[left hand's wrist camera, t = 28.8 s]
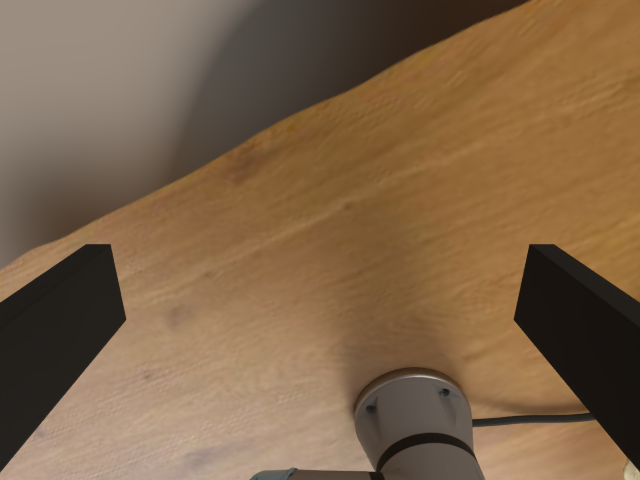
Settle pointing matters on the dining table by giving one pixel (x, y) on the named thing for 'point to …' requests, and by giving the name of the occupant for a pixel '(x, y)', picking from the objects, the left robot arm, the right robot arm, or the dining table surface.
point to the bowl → (630, 471)
